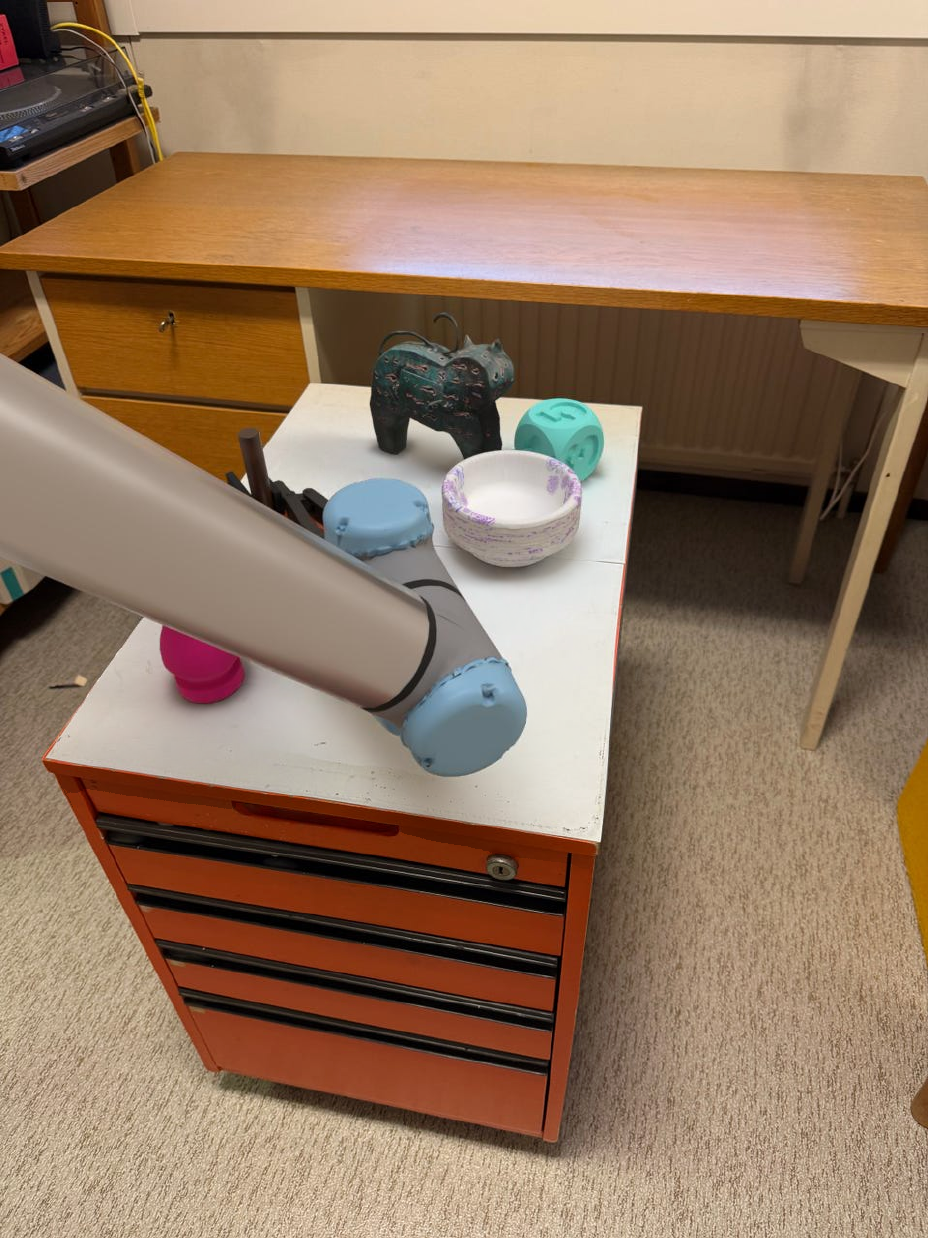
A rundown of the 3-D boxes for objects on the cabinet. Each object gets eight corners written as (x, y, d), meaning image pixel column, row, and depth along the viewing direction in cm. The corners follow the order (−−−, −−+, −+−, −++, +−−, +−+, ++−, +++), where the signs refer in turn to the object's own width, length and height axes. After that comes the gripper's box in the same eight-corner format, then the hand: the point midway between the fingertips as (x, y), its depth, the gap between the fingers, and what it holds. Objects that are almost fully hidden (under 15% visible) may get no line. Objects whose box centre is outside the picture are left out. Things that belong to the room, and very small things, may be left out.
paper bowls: (607, 547, 99) (612, 487, 93) (501, 603, 92) (501, 541, 87) (519, 490, 108) (519, 433, 103) (418, 537, 101) (413, 478, 96)
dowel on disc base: (254, 604, 92) (217, 453, 80) (250, 570, 96) (214, 422, 85) (312, 593, 93) (283, 442, 81) (305, 560, 98) (277, 413, 86)
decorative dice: (512, 469, 112) (513, 412, 106) (558, 447, 115) (560, 391, 110) (556, 495, 107) (559, 436, 102) (602, 471, 111) (607, 413, 105)
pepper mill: (157, 696, 83) (91, 522, 70) (201, 647, 88) (147, 476, 75) (221, 716, 81) (165, 539, 68) (263, 664, 86) (218, 491, 73)
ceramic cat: (517, 475, 111) (518, 319, 98) (488, 499, 107) (485, 340, 94) (395, 433, 120) (380, 286, 107) (364, 454, 116) (345, 304, 103)
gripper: (268, 663, 76) (182, 532, 92) (419, 601, 82) (315, 487, 97) (251, 596, 71) (163, 470, 87) (413, 535, 77) (304, 426, 92)
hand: (243, 479), depth 92 cm, fingers closed on dowel on disc base, 2 cm apart
